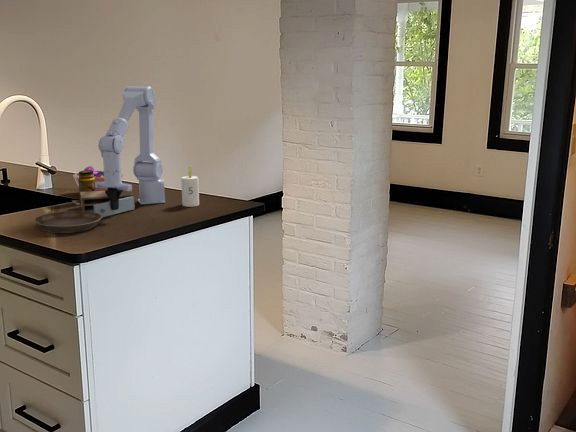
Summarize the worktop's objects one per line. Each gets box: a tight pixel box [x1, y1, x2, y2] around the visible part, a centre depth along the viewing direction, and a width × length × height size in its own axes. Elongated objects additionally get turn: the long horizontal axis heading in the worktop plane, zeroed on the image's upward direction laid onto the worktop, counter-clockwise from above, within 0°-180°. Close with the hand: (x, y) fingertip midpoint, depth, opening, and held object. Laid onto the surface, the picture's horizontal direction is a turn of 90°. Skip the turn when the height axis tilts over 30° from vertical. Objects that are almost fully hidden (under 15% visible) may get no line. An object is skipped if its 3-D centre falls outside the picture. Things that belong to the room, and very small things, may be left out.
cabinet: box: [79, 190, 136, 212], centre depth 223 cm, size 18×11×6 cm, turn 111°
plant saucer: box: [34, 210, 103, 234], centre depth 199 cm, size 21×21×3 cm
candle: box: [180, 164, 200, 208], centre depth 229 cm, size 6×6×15 cm
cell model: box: [72, 165, 124, 191], centre depth 247 cm, size 17×20×11 cm
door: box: [94, 196, 136, 218], centre depth 214 cm, size 18×2×5 cm, turn 146°
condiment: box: [72, 170, 96, 206], centre depth 233 cm, size 7×8×12 cm
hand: (114, 209), depth 212 cm, fingers closed, pressing on door
